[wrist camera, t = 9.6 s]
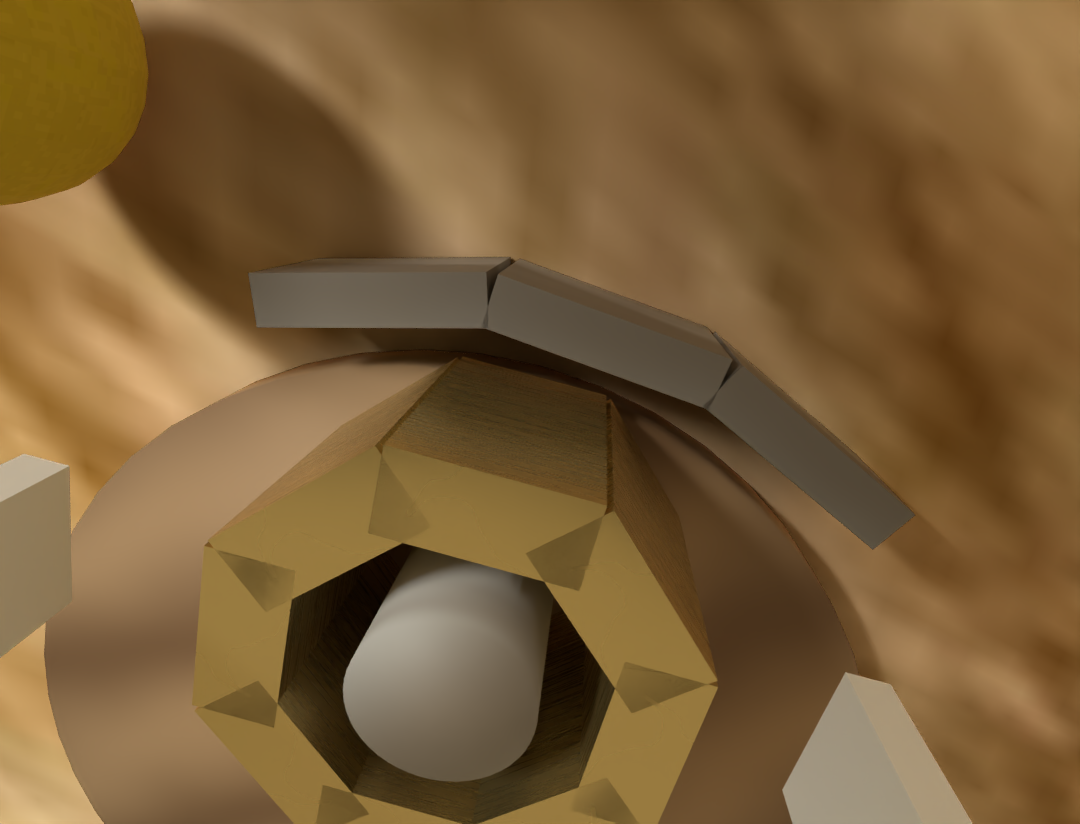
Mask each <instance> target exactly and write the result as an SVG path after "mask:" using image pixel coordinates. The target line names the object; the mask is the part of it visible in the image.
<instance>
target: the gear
mask: <svg viewBox="0 0 1080 824" xmlns="http://www.w3.org/2000/svg"><path fill="white" fill-rule="evenodd" d="M208 541H209V542H208V543H207V544H205V545H204V552H203V565H202V578H201V592H200V605H199V618H198V631H197V644H196V658H195V671H194V684H193V697H192V705H194V706H197V708H196V709H195V712H196V713H197V715H198V716H199V717H200V718H201V719H202V720H203V721H204V722H205V724H206V725H207V726H208V727H209V728H210V729H211V730H212V731H213V733H214V734H215V735H216V736H217V737H218V738H219V739H220V741H221V742H222V743H223V744H224V745H225V746H226V747H227V748H228V750H229V751H230V752H231V753H232V754H233V755H234V756H235V757H236V759H237V760H238V761H239V762H240V763H241V764H242V765H243V767H244V768H245V769H246V770H247V771H248V772H249V773H250V774H251V776H252V777H253V778H254V779H255V780H256V781H257V782H258V784H259V785H260V786H261V787H262V788H263V789H264V790H265V791H266V793H267V794H268V795H269V796H270V797H271V798H272V799H273V800H274V802H275V803H276V804H277V805H278V806H279V807H280V808H281V810H282V811H283V812H284V813H285V814H286V815H287V816H288V817H289V819H290V820H291V821H292V822H293V823H294V824H658V822H659V820H660V818H661V815H662V813H663V811H664V809H665V806H666V804H667V802H668V800H669V797H670V795H671V793H672V791H673V788H674V786H675V784H676V782H677V779H678V777H679V775H680V772H681V770H682V768H683V766H684V763H685V761H686V759H687V757H688V754H689V752H690V750H691V748H692V745H693V743H694V741H695V739H696V736H697V734H698V732H699V730H700V727H701V725H702V723H703V720H704V718H705V716H706V714H707V711H708V709H709V707H710V705H711V702H712V700H713V698H714V696H715V693H716V691H717V689H718V684H717V681H718V680H717V676H716V671H715V667H714V663H713V658H712V654H711V650H710V646H709V641H708V637H707V633H706V629H705V624H704V620H703V616H702V611H701V607H700V603H699V599H698V594H697V590H696V586H695V582H694V577H693V573H692V569H691V564H690V560H689V556H688V552H687V547H686V543H685V539H684V535H683V530H682V526H681V522H680V517H679V515H678V513H677V511H676V510H675V508H674V506H673V505H672V503H671V501H670V499H669V498H668V496H667V494H666V493H665V491H664V489H663V487H662V486H661V484H660V482H659V481H658V479H657V477H656V475H655V474H654V472H653V470H652V469H651V467H650V465H649V463H648V462H647V460H646V458H645V456H644V455H643V453H642V451H641V450H640V448H639V446H638V444H637V443H636V441H635V439H634V438H633V436H632V434H631V432H630V431H629V429H628V427H627V426H626V424H625V422H624V420H623V419H622V417H621V415H620V413H619V412H618V410H617V408H616V407H615V405H614V403H613V401H612V400H611V399H609V400H607V401H606V395H604V394H600V393H596V392H593V391H589V390H585V389H581V388H578V387H574V386H570V385H567V384H563V383H559V382H556V381H552V380H548V379H544V378H541V377H537V376H533V375H530V374H526V373H522V372H519V371H515V370H511V369H507V368H504V367H500V366H496V365H493V364H489V363H485V362H482V361H478V360H474V359H471V358H467V357H462V358H461V359H460V360H459V359H458V357H457V358H455V359H454V360H452V361H450V362H448V363H447V364H445V365H443V366H442V367H440V368H438V369H436V370H435V371H433V372H431V373H430V374H428V375H426V376H424V377H423V378H421V379H419V380H418V381H416V382H414V383H412V384H411V385H409V386H407V387H406V388H404V389H402V390H400V391H399V392H397V393H395V394H394V395H392V396H390V397H389V398H387V399H385V400H383V401H382V402H380V403H378V404H377V405H375V406H373V407H371V408H370V409H368V410H366V411H365V412H363V413H361V414H359V415H358V416H356V417H354V418H353V419H351V420H349V421H347V422H346V423H344V424H342V425H341V426H340V427H339V428H338V429H337V430H335V431H334V432H333V433H332V434H331V435H330V436H328V437H327V438H326V439H325V440H324V441H323V442H321V443H320V444H319V445H318V446H317V447H316V448H314V449H313V450H312V451H311V452H310V453H309V454H307V455H306V456H305V457H304V458H303V459H302V460H300V461H299V462H298V463H297V464H296V465H295V466H293V467H292V468H291V469H290V470H289V471H288V472H286V473H285V474H284V475H283V476H282V477H281V478H279V479H278V480H277V481H276V482H275V483H274V484H272V485H271V486H270V487H269V488H268V489H267V490H265V491H264V492H263V493H262V494H261V495H260V496H258V497H257V498H256V499H255V500H254V501H253V502H251V503H250V504H249V505H248V506H247V507H246V508H244V509H243V510H242V511H241V512H240V513H239V514H237V515H236V516H235V517H234V518H233V519H232V520H230V521H229V522H228V523H227V524H226V525H225V526H223V527H222V528H221V529H220V530H219V531H218V532H217V533H215V534H214V535H213V536H212V537H211V538H210V539H208ZM401 543H405V544H409V545H412V546H416V547H420V548H423V549H427V550H431V551H434V552H438V553H442V554H445V555H449V556H452V557H456V558H460V559H463V560H467V561H471V562H474V563H478V564H482V565H485V566H489V567H493V568H496V569H500V570H504V571H507V572H511V573H515V574H518V575H522V576H525V577H529V578H533V579H536V580H540V581H544V582H545V584H546V585H547V587H548V588H549V590H550V591H551V593H552V594H553V596H554V597H555V599H556V600H557V602H558V603H559V605H560V606H561V608H562V609H563V610H561V611H559V612H557V613H555V614H552V615H551V620H550V628H549V635H548V643H547V651H546V659H545V666H544V674H543V682H542V689H541V697H540V705H539V713H538V720H537V726H536V730H535V734H534V736H533V738H532V741H531V743H530V744H529V746H528V747H527V749H526V751H525V752H524V753H523V754H522V755H521V756H520V757H519V758H518V759H517V760H516V761H515V762H514V763H512V764H511V765H510V766H508V767H507V768H505V769H503V770H502V771H500V772H497V773H495V774H493V775H491V776H487V777H484V778H481V779H476V780H470V781H459V782H452V781H439V780H432V779H428V778H423V777H420V776H417V775H414V774H411V773H408V772H406V771H404V770H401V769H399V768H397V767H395V766H394V765H392V764H390V763H388V762H387V761H385V760H384V759H383V758H381V757H380V756H378V755H377V754H376V753H375V752H374V751H373V750H371V749H370V748H369V747H368V746H367V745H366V743H365V742H364V741H363V740H362V739H361V738H360V736H359V735H358V733H357V732H356V731H355V729H354V727H353V725H352V724H351V722H350V720H349V717H348V714H347V712H346V708H345V704H344V698H343V684H344V678H345V674H346V670H347V668H348V666H349V664H350V661H351V659H352V658H353V656H354V654H355V652H356V650H357V649H358V647H359V645H360V643H361V641H362V639H363V638H364V636H365V634H366V632H367V630H368V629H369V627H370V625H371V623H372V621H373V619H374V618H375V616H376V614H377V612H378V610H379V609H380V607H381V605H382V603H383V601H384V600H385V598H386V596H387V594H388V592H389V590H390V589H391V587H392V585H393V583H394V581H395V580H396V578H397V576H398V574H399V572H400V570H401V568H400V567H399V566H398V564H397V563H396V562H395V560H394V559H393V557H392V556H391V555H390V553H389V552H388V550H390V549H392V548H394V547H396V546H398V545H399V544H401Z"/></svg>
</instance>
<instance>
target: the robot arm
mask: <svg viewBox="0 0 1080 824" xmlns="http://www.w3.org/2000/svg"><path fill="white" fill-rule="evenodd" d="M71 602H72V568H71V519H70V470H69V466H68V465H64V464H60V463H57V462H53V461H49V460H45V459H42V458H38V457H34V456H30V455H27V454H23V455H20V456H18V457H16V458H14V459H12V460H10V461H7V462H5V463H3V464H1V465H0V658H1V657H2V656H3V655H4V654H6V653H7V652H8V651H9V650H11V649H12V648H13V647H15V646H16V645H17V644H18V643H20V642H21V641H22V640H23V639H25V638H26V637H27V636H29V635H30V634H31V633H32V632H34V631H35V630H36V629H38V628H39V627H40V626H41V625H43V624H44V623H45V622H46V621H48V620H49V619H50V618H52V617H53V616H54V615H55V614H57V613H58V612H59V611H60V610H62V609H63V608H64V607H66V606H67V605H68V604H69V603H71ZM782 791H783V794H784V797H785V801H786V804H787V807H788V810H789V814H790V817H791V820H792V824H973V823H972V821H971V820H970V818H969V816H968V815H967V813H966V811H965V810H964V808H963V806H962V804H961V803H960V801H959V799H958V798H957V796H956V794H955V793H954V791H953V789H952V787H951V786H950V784H949V782H948V781H947V779H946V777H945V776H944V774H943V772H942V770H941V769H940V767H939V765H938V764H937V762H936V760H935V759H934V757H933V755H932V753H931V752H930V750H929V748H928V747H927V745H926V743H925V742H924V740H923V738H922V737H921V735H920V733H919V731H918V730H917V728H916V726H915V725H914V723H913V721H912V720H911V718H910V716H909V714H908V713H907V711H906V709H905V708H904V706H903V704H902V703H901V701H900V699H899V697H898V696H897V694H896V692H895V691H894V689H893V687H892V686H891V684H888V683H884V682H880V681H877V680H873V679H869V678H865V677H862V676H858V675H854V674H850V673H847V672H845V674H844V676H843V678H842V680H841V682H840V683H839V685H838V687H837V689H836V691H835V693H834V695H833V696H832V698H831V700H830V702H829V704H828V706H827V708H826V709H825V711H824V713H823V715H822V717H821V719H820V721H819V722H818V724H817V726H816V728H815V730H814V732H813V734H812V735H811V737H810V739H809V741H808V743H807V745H806V747H805V748H804V750H803V752H802V754H801V756H800V758H799V760H798V761H797V763H796V765H795V767H794V769H793V771H792V773H791V774H790V776H789V778H788V780H787V782H786V784H785V786H784V787H783V789H782Z"/></svg>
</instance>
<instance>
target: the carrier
mask: <svg viewBox="0 0 1080 824" xmlns="http://www.w3.org/2000/svg"><path fill="white" fill-rule="evenodd" d="M248 275H249V281H250V287H251V294H252V300H253V306H254V312H255V318H256V325H257V327H274V328H485V329H488V330H491V331H494V332H496V333H499V334H502V335H505V336H507V337H510V338H513V339H516V340H518V341H521V342H524V343H527V344H529V345H532V346H535V347H538V348H540V349H543V350H546V351H549V352H551V353H554V354H557V355H560V356H562V357H565V358H568V359H571V360H573V361H576V362H579V363H582V364H584V365H587V366H590V367H593V368H595V369H598V370H601V371H604V372H606V373H609V374H612V375H615V376H617V377H620V378H623V379H626V380H628V381H631V382H634V383H637V384H639V385H642V386H645V387H648V388H650V389H653V390H656V391H659V392H661V393H664V394H667V395H670V396H672V397H675V398H678V399H681V400H683V401H686V402H689V403H692V404H694V405H697V406H700V407H703V408H705V409H707V410H708V411H709V412H710V413H712V414H713V415H714V416H715V417H716V418H717V419H719V420H720V421H721V422H722V423H723V424H725V425H726V426H727V427H728V428H729V429H731V430H732V431H733V432H734V433H735V434H736V435H738V436H739V437H740V438H741V439H742V440H744V441H745V442H746V443H747V444H748V445H749V446H751V447H752V448H753V449H754V450H755V451H757V452H758V453H759V454H760V455H761V456H762V457H764V458H765V459H766V460H767V461H768V462H770V463H771V464H772V465H773V466H774V467H776V468H777V469H778V470H779V471H780V472H781V473H783V474H784V475H785V476H786V477H787V478H789V479H790V480H791V481H792V482H793V483H794V484H796V485H797V486H798V487H799V488H800V489H802V490H803V491H804V492H805V493H806V494H807V495H809V496H810V497H811V498H812V499H813V500H815V501H816V502H817V503H818V504H819V505H821V506H822V507H823V508H824V509H825V510H826V511H828V512H829V513H830V514H831V515H832V516H834V517H835V518H836V519H837V520H838V521H839V522H841V523H842V524H843V525H844V526H845V527H847V528H848V529H849V530H850V531H851V532H852V533H854V534H855V535H856V536H857V537H858V538H860V539H861V540H862V541H863V542H864V543H866V544H867V545H868V546H869V547H870V548H871V549H874V548H876V547H877V546H878V545H879V544H881V543H882V542H883V541H884V540H885V539H887V538H888V537H889V536H890V535H892V534H893V533H894V532H895V531H896V530H898V529H899V528H900V527H901V526H903V525H904V524H905V523H906V522H907V521H909V520H910V519H911V518H912V517H914V516H915V514H914V513H913V512H912V511H911V510H910V509H909V508H908V507H907V506H906V505H905V504H904V503H903V502H902V501H901V500H900V499H899V498H898V497H897V496H896V495H895V494H894V493H893V492H892V491H891V490H890V489H889V488H888V487H887V486H886V485H885V484H884V482H883V481H882V480H881V479H880V478H879V477H878V476H877V475H876V474H875V473H874V472H873V471H872V470H871V469H870V468H869V467H868V466H867V465H866V464H865V463H864V462H863V461H862V460H861V459H860V458H859V457H858V456H857V455H856V454H855V453H854V452H853V451H852V450H850V449H849V448H848V447H847V446H846V445H845V444H844V443H842V442H841V441H840V440H839V439H838V438H837V437H835V436H834V435H833V434H832V433H831V432H830V431H829V430H827V429H826V428H825V427H824V426H823V425H822V424H820V423H819V422H818V421H817V420H816V419H815V418H814V417H812V416H811V415H810V414H809V413H808V412H807V411H806V410H804V409H803V408H802V407H801V406H800V405H799V404H797V403H796V402H795V401H794V400H793V399H792V398H791V397H789V396H788V395H787V394H786V393H785V392H784V391H782V390H781V389H780V388H779V387H778V386H777V385H776V384H774V383H773V382H772V381H771V380H770V379H769V378H768V377H766V376H765V375H764V374H763V373H762V372H761V371H759V370H758V369H757V368H756V367H755V366H754V365H753V364H751V363H750V362H749V361H748V360H747V359H746V358H745V357H743V356H742V355H741V354H740V353H739V352H738V351H736V350H735V349H734V348H733V347H732V346H731V345H730V344H728V343H727V342H726V341H725V340H724V339H723V338H721V337H720V336H719V335H718V334H717V333H716V332H714V333H713V334H712V333H711V332H710V331H709V329H708V328H707V327H705V326H702V325H700V324H697V323H694V322H691V321H689V320H686V319H683V318H681V317H678V316H675V315H672V314H670V313H667V312H664V311H661V310H659V309H656V308H653V307H651V306H648V305H645V304H642V303H640V302H637V301H634V300H631V299H629V298H626V297H623V296H620V295H618V294H615V293H612V292H610V291H607V290H604V289H601V288H599V287H596V286H593V285H590V284H588V283H585V282H582V281H579V280H577V279H574V278H571V277H569V276H566V275H563V274H560V273H558V272H555V271H552V270H549V269H547V268H544V267H541V266H539V265H536V264H533V263H530V262H528V261H525V260H522V259H519V260H517V261H516V262H515V263H513V264H512V265H511V257H453V258H319V259H314V260H309V261H304V262H299V263H295V264H290V265H285V266H280V267H275V268H271V269H266V270H261V271H256V272H251V273H248ZM457 357H458V359H459V360H460V359H461V358H462V357H467V358H471V359H474V360H478V361H482V362H485V363H489V364H493V365H496V366H500V367H504V368H507V369H511V370H515V371H519V372H522V373H526V374H530V375H533V376H537V377H541V378H544V379H548V380H552V381H556V382H559V383H563V384H567V385H570V386H574V387H578V388H581V389H585V390H589V391H593V392H596V393H600V394H604V395H606V401H607V400H609V399H611V400H612V401H613V403H614V405H615V407H616V408H617V410H618V412H619V413H620V415H621V417H622V419H623V420H624V422H625V424H626V426H627V427H628V429H629V431H630V432H631V434H632V436H633V438H634V439H635V441H636V443H637V444H638V446H639V448H640V450H641V451H642V453H643V455H644V456H645V458H646V460H647V462H648V463H649V465H650V467H651V469H652V470H653V472H654V474H655V475H656V477H657V479H658V481H659V482H660V484H661V486H662V487H663V489H664V491H665V493H666V494H667V496H668V498H669V499H670V501H671V503H672V505H673V506H674V508H675V510H676V511H677V513H678V515H679V517H680V522H681V526H682V530H683V535H684V539H685V543H686V547H687V552H688V556H689V560H690V564H691V569H692V573H693V577H694V582H695V586H696V590H697V594H698V599H699V603H700V607H701V611H702V616H703V620H704V624H705V629H706V633H707V637H708V641H709V646H710V650H711V654H712V658H713V663H714V667H715V671H716V676H717V680H718V681H717V684H718V689H717V691H716V693H715V696H714V698H713V700H712V702H711V705H710V707H709V709H708V711H707V714H706V716H705V718H704V720H703V723H702V725H701V727H700V730H699V732H698V734H697V736H696V739H695V741H694V743H693V745H692V748H691V750H690V752H689V754H688V757H687V759H686V761H685V763H684V766H683V768H682V770H681V772H680V775H679V777H678V779H677V782H676V784H675V786H674V788H673V791H672V793H671V795H670V797H669V800H668V802H667V804H666V806H665V809H664V811H663V813H662V815H661V818H660V820H659V822H658V824H792V820H791V817H790V814H789V810H788V807H787V804H786V801H785V797H784V794H783V791H782V789H783V787H784V786H785V784H786V782H787V780H788V778H789V776H790V774H791V773H792V771H793V769H794V767H795V765H796V763H797V761H798V760H799V758H800V756H801V754H802V752H803V750H804V748H805V747H806V745H807V743H808V741H809V739H810V737H811V735H812V734H813V732H814V730H815V728H816V726H817V724H818V722H819V721H820V719H821V717H822V715H823V713H824V711H825V709H826V708H827V706H828V704H829V702H830V700H831V698H832V696H833V695H834V693H835V691H836V689H837V687H838V685H839V683H840V682H841V680H842V678H843V676H844V674H845V672H847V673H850V674H854V675H858V676H859V673H858V669H857V665H856V661H855V657H854V654H853V651H852V649H851V647H850V645H849V642H848V640H847V638H846V635H845V633H844V631H843V628H842V626H841V624H840V622H839V619H838V617H837V615H836V612H835V610H834V608H833V606H832V604H831V602H830V600H829V598H828V597H827V595H826V593H825V591H824V590H823V588H822V586H821V584H820V582H819V581H818V579H817V577H816V575H815V573H814V572H813V570H812V568H811V567H810V565H809V564H808V562H807V560H806V559H805V557H804V556H803V554H802V553H801V551H800V549H799V548H798V546H797V545H796V543H795V542H794V540H793V538H792V537H791V535H790V534H789V532H788V531H787V529H786V527H785V526H784V525H783V523H782V522H781V521H780V520H779V519H778V518H777V516H776V515H775V514H774V513H773V512H772V511H771V510H770V508H769V507H768V506H767V505H766V504H765V503H764V501H763V500H762V499H761V498H760V497H759V496H758V495H757V493H756V492H755V491H754V490H753V489H752V488H751V486H750V485H749V484H748V483H747V482H746V481H744V480H743V479H742V478H741V477H740V476H739V475H738V474H736V473H735V472H734V471H733V470H732V469H731V468H730V467H728V466H727V465H726V464H725V463H724V462H723V461H722V460H720V459H719V458H718V457H717V456H716V455H715V454H714V453H712V452H711V451H710V450H709V449H708V448H707V447H705V446H704V445H703V444H701V443H700V442H698V441H697V440H695V439H694V438H692V437H691V436H689V435H688V434H686V433H685V432H683V431H681V430H680V429H678V428H677V427H675V426H674V425H672V424H671V423H669V422H668V421H666V420H665V419H663V418H662V417H660V416H659V415H657V414H656V413H654V412H652V411H650V410H648V409H646V408H644V407H642V406H640V405H638V404H636V403H634V402H631V401H629V400H627V399H625V398H623V397H621V396H619V395H617V394H615V393H613V392H611V391H609V390H607V389H605V388H603V387H601V386H598V385H595V384H592V383H589V382H586V381H583V380H581V379H578V378H575V377H572V376H569V375H566V374H563V373H560V372H557V371H554V370H551V369H548V368H545V367H542V366H538V365H533V364H528V363H523V362H518V361H513V360H508V359H504V358H499V357H494V356H489V355H484V354H476V353H462V352H448V351H434V350H421V349H420V350H403V351H386V352H369V353H359V354H354V355H348V356H343V357H338V358H333V359H328V360H323V361H318V362H313V363H308V364H304V365H301V366H299V367H296V368H293V369H290V370H287V371H284V372H282V373H279V374H276V375H273V376H270V377H267V378H264V379H262V380H259V381H256V382H254V383H252V384H250V385H248V386H246V387H244V388H242V389H240V390H239V391H237V392H235V393H233V394H231V395H229V396H227V397H225V398H223V399H221V400H219V401H218V402H216V403H214V404H212V405H210V406H208V407H206V408H204V409H202V410H201V411H199V412H197V413H195V414H193V415H191V416H189V417H187V418H185V419H184V420H182V421H180V422H178V423H176V424H174V425H172V426H171V427H170V428H168V429H167V430H166V431H164V432H163V433H162V434H160V435H159V436H158V437H156V438H155V439H154V440H152V441H151V442H150V443H148V444H147V445H146V446H144V447H143V448H142V449H141V450H139V451H138V452H137V453H135V454H134V455H133V456H131V457H130V458H129V459H128V460H127V461H126V463H125V464H124V465H123V466H122V467H121V468H120V469H119V470H118V471H117V472H116V473H115V474H114V475H113V476H112V478H111V479H110V480H109V481H108V482H107V483H106V484H105V485H104V486H103V487H102V488H101V489H100V490H99V491H98V493H97V494H96V496H95V497H94V499H93V500H92V502H91V503H90V505H89V507H88V508H87V510H86V511H85V513H84V514H83V516H82V517H81V519H80V520H79V522H78V523H77V525H76V527H75V528H74V530H73V531H72V534H71V568H72V602H71V603H69V604H68V605H67V606H66V607H64V608H63V609H62V610H60V611H59V612H58V613H57V614H55V615H54V616H53V617H52V618H50V619H49V620H48V621H46V630H45V649H44V657H45V667H46V676H47V686H48V695H49V699H50V703H51V707H52V711H53V715H54V719H55V723H56V726H57V730H58V734H59V737H60V740H61V742H62V745H63V747H64V749H65V752H66V754H67V757H68V759H69V762H70V764H71V767H72V769H73V772H74V774H75V776H76V778H77V779H78V781H79V783H80V785H81V787H82V788H83V790H84V792H85V794H86V795H87V797H88V799H89V801H90V803H91V804H92V806H93V808H94V810H95V811H96V813H97V814H98V815H99V817H100V818H101V820H102V821H103V822H104V824H294V823H293V822H292V821H291V820H290V819H289V817H288V816H287V815H286V814H285V813H284V812H283V811H282V810H281V808H280V807H279V806H278V805H277V804H276V803H275V802H274V800H273V799H272V798H271V797H270V796H269V795H268V794H267V793H266V791H265V790H264V789H263V788H262V787H261V786H260V785H259V784H258V782H257V781H256V780H255V779H254V778H253V777H252V776H251V774H250V773H249V772H248V771H247V770H246V769H245V768H244V767H243V765H242V764H241V763H240V762H239V761H238V760H237V759H236V757H235V756H234V755H233V754H232V753H231V752H230V751H229V750H228V748H227V747H226V746H225V745H224V744H223V743H222V742H221V741H220V739H219V738H218V737H217V736H216V735H215V734H214V733H213V731H212V730H211V729H210V728H209V727H208V726H207V725H206V724H205V722H204V721H203V720H202V719H201V718H200V717H199V716H198V715H197V713H196V712H195V709H196V708H197V706H194V705H192V697H193V684H194V671H195V658H196V644H197V631H198V618H199V605H200V592H201V578H202V565H203V552H204V545H205V544H207V543H208V542H209V541H208V539H210V538H211V537H212V536H213V535H214V534H215V533H217V532H218V531H219V530H220V529H221V528H222V527H223V526H225V525H226V524H227V523H228V522H229V521H230V520H232V519H233V518H234V517H235V516H236V515H237V514H239V513H240V512H241V511H242V510H243V509H244V508H246V507H247V506H248V505H249V504H250V503H251V502H253V501H254V500H255V499H256V498H257V497H258V496H260V495H261V494H262V493H263V492H264V491H265V490H267V489H268V488H269V487H270V486H271V485H272V484H274V483H275V482H276V481H277V480H278V479H279V478H281V477H282V476H283V475H284V474H285V473H286V472H288V471H289V470H290V469H291V468H292V467H293V466H295V465H296V464H297V463H298V462H299V461H300V460H302V459H303V458H304V457H305V456H306V455H307V454H309V453H310V452H311V451H312V450H313V449H314V448H316V447H317V446H318V445H319V444H320V443H321V442H323V441H324V440H325V439H326V438H327V437H328V436H330V435H331V434H332V433H333V432H334V431H335V430H337V429H338V428H339V427H340V426H341V425H342V424H344V423H346V422H347V421H349V420H351V419H353V418H354V417H356V416H358V415H359V414H361V413H363V412H365V411H366V410H368V409H370V408H371V407H373V406H375V405H377V404H378V403H380V402H382V401H383V400H385V399H387V398H389V397H390V396H392V395H394V394H395V393H397V392H399V391H400V390H402V389H404V388H406V387H407V386H409V385H411V384H412V383H414V382H416V381H418V380H419V379H421V378H423V377H424V376H426V375H428V374H430V373H431V372H433V371H435V370H436V369H438V368H440V367H442V366H443V365H445V364H447V363H448V362H450V361H452V360H454V359H455V358H457ZM388 552H389V553H390V555H391V556H392V557H393V559H394V560H395V562H396V563H397V564H398V566H399V567H400V568H401V570H400V572H399V574H398V576H397V578H396V580H395V581H394V583H393V585H392V587H391V589H390V590H389V592H388V594H387V596H386V598H385V600H384V601H383V603H382V605H381V607H380V609H379V610H378V612H377V614H376V616H375V618H374V619H373V621H372V623H371V625H370V627H369V629H368V630H367V632H366V634H365V636H364V638H363V639H362V641H361V643H360V645H359V647H358V649H357V650H356V652H355V654H354V656H353V658H352V659H351V661H350V664H349V666H348V668H347V670H346V674H345V678H344V684H343V698H344V704H345V708H346V712H347V714H348V717H349V720H350V722H351V724H352V725H353V727H354V729H355V731H356V732H357V733H358V735H359V736H360V738H361V739H362V740H363V741H364V742H365V743H366V745H367V746H368V747H369V748H370V749H371V750H373V751H374V752H375V753H376V754H377V755H378V756H380V757H381V758H383V759H384V760H385V761H387V762H388V763H390V764H392V765H394V766H395V767H397V768H399V769H401V770H404V771H406V772H408V773H411V774H414V775H417V776H420V777H423V778H428V779H432V780H439V781H452V782H459V781H470V780H476V779H481V778H484V777H487V776H491V775H493V774H495V773H497V772H500V771H502V770H503V769H505V768H507V767H508V766H510V765H511V764H512V763H514V762H515V761H516V760H517V759H518V758H519V757H520V756H521V755H522V754H523V753H524V752H525V751H526V749H527V747H528V746H529V744H530V743H531V741H532V738H533V736H534V734H535V730H536V726H537V720H538V713H539V705H540V697H541V689H542V682H543V674H544V666H545V659H546V651H547V643H548V635H549V628H550V620H551V615H552V614H555V613H557V612H559V611H561V610H563V609H562V608H561V606H560V605H559V603H558V602H557V600H556V599H555V597H554V596H553V594H552V593H551V591H550V590H549V588H548V587H547V585H546V584H545V582H544V581H540V580H536V579H533V578H529V577H525V576H522V575H518V574H515V573H511V572H507V571H504V570H500V569H496V568H493V567H489V566H485V565H482V564H478V563H474V562H471V561H467V560H463V559H460V558H456V557H452V556H449V555H445V554H442V553H438V552H434V551H431V550H427V549H423V548H420V547H416V546H412V545H409V544H405V543H401V544H399V545H398V546H396V547H394V548H392V549H390V550H388Z"/></svg>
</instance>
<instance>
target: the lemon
mask: <svg viewBox="0 0 1080 824" xmlns="http://www.w3.org/2000/svg"><path fill="white" fill-rule="evenodd" d="M147 83H148V66H147V58H146V50H145V41H144V37H143V34H142V31H141V28H140V25H139V21H138V18H137V15H136V12H135V9H134V6H133V3H132V2H131V0H0V205H8V204H15V203H22V202H26V201H30V200H34V199H38V198H41V197H45V196H48V195H51V194H55V193H58V192H62V191H65V190H68V189H71V188H73V187H76V186H78V185H81V184H82V183H84V182H85V181H87V180H88V179H90V178H91V177H93V176H94V175H96V174H97V173H98V172H100V171H101V170H103V169H104V168H105V167H107V166H108V165H110V164H111V163H112V162H114V160H115V159H116V158H117V157H118V156H119V154H120V153H121V152H122V150H123V149H124V147H125V146H126V145H127V143H128V142H129V141H130V139H131V138H132V136H133V135H134V134H135V132H136V129H137V126H138V124H139V121H140V118H141V115H142V113H143V110H144V107H145V102H146V92H147Z"/></svg>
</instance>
